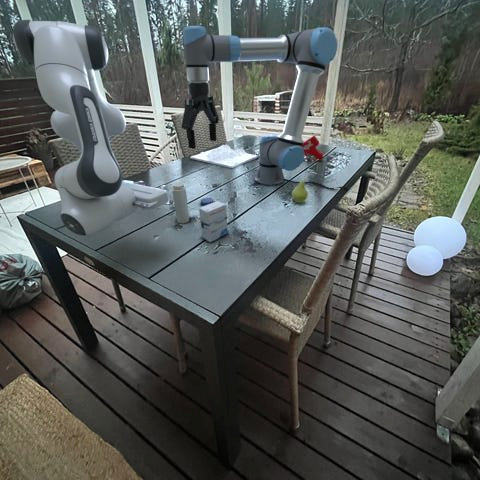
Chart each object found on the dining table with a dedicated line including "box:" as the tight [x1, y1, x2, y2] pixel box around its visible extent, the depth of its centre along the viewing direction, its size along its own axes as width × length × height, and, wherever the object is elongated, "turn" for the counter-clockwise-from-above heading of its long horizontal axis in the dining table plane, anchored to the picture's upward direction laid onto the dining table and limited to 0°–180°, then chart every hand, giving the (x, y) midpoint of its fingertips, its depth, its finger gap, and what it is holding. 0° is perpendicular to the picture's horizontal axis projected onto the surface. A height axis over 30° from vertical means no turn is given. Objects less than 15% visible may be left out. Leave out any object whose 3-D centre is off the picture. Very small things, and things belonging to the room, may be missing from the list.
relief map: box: [190, 144, 259, 169], centre depth 178 cm, size 27×35×5 cm
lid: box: [200, 197, 214, 207], centre depth 120 cm, size 6×6×2 cm
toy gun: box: [302, 135, 324, 163], centre depth 173 cm, size 18×4×15 cm
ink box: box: [198, 200, 228, 243], centre depth 95 cm, size 8×5×12 cm, turn 135°
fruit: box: [291, 174, 311, 204], centre depth 118 cm, size 7×8×12 cm
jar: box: [171, 182, 190, 224], centre depth 104 cm, size 5×5×15 cm
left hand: (154, 185), depth 89 cm, fingers open, 8 cm apart
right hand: (203, 144), depth 107 cm, fingers open, 13 cm apart
